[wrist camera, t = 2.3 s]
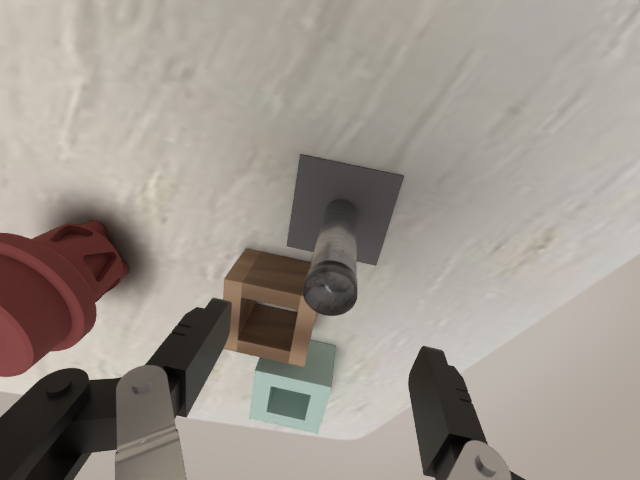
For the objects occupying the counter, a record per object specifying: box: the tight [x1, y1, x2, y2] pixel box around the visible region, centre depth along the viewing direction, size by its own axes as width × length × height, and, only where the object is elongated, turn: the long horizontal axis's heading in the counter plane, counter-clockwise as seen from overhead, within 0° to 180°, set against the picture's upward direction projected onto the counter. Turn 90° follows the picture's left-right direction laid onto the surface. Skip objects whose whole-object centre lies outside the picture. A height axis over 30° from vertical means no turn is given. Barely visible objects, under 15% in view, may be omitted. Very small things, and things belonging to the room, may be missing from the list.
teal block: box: [249, 340, 335, 434], centre depth 31 cm, size 7×7×5 cm
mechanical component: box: [0, 220, 129, 377], centre depth 24 cm, size 12×10×10 cm
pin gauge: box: [303, 199, 357, 316], centre depth 20 cm, size 3×3×11 cm
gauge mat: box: [287, 154, 404, 265], centre depth 25 cm, size 8×8×1 cm
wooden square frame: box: [223, 249, 316, 367], centre depth 27 cm, size 7×7×5 cm
